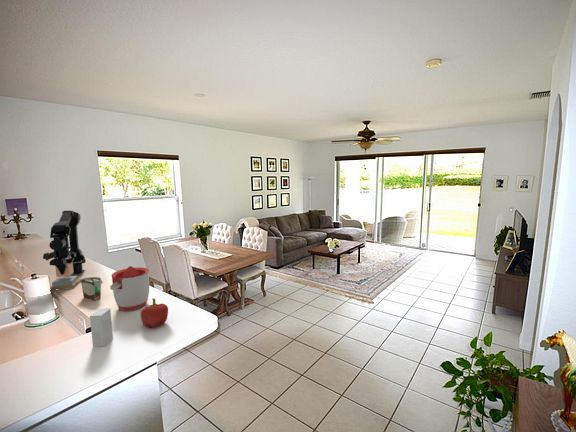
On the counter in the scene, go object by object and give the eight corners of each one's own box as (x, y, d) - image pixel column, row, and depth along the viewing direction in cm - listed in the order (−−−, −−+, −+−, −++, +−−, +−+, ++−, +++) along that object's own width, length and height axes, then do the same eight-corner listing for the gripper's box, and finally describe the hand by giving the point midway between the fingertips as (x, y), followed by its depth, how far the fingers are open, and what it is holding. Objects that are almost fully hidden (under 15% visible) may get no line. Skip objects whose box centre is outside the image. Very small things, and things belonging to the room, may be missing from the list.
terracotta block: (61, 273, 160) (60, 263, 159) (73, 272, 162) (72, 262, 161) (56, 277, 154) (55, 266, 154) (69, 276, 156) (68, 265, 156)
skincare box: (101, 337, 106) (99, 308, 105) (113, 337, 107) (111, 307, 105) (91, 347, 100) (89, 316, 99) (104, 346, 101) (101, 315, 99)
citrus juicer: (102, 311, 128) (99, 269, 125) (135, 297, 144) (133, 260, 141) (126, 317, 122) (123, 274, 120) (158, 302, 138) (155, 263, 136)
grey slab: (58, 281, 161) (58, 277, 161) (77, 279, 164) (76, 275, 164) (52, 286, 153) (51, 282, 152) (72, 284, 156) (71, 280, 156)
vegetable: (141, 321, 119) (139, 299, 118) (167, 316, 124) (166, 294, 123) (141, 333, 109) (140, 309, 108) (170, 327, 114) (168, 304, 113)
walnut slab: (58, 284, 162) (58, 280, 162) (81, 282, 166) (80, 278, 166) (50, 291, 152) (49, 287, 152) (74, 289, 156) (73, 285, 155)
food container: (108, 297, 144) (107, 278, 142) (96, 301, 138) (95, 282, 137) (94, 293, 149) (92, 275, 148) (81, 297, 143) (80, 278, 142)
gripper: (52, 243, 162) (55, 269, 164) (35, 251, 145) (39, 279, 147) (75, 242, 166) (77, 267, 168) (61, 249, 148) (64, 277, 150)
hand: (64, 272), depth 158 cm, fingers closed on terracotta block, 6 cm apart
